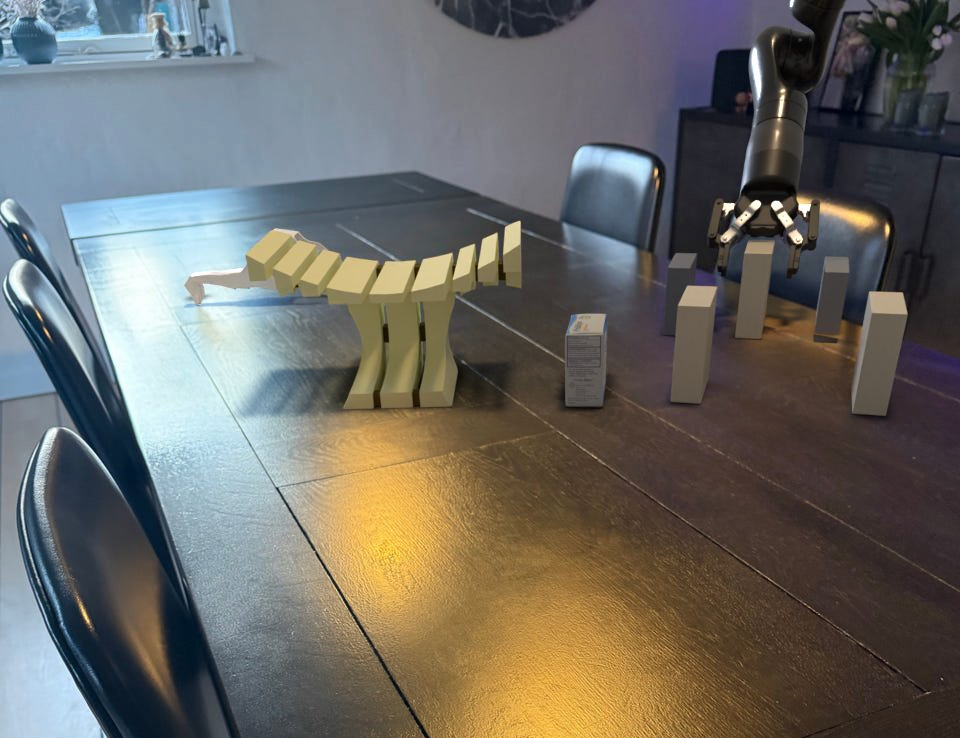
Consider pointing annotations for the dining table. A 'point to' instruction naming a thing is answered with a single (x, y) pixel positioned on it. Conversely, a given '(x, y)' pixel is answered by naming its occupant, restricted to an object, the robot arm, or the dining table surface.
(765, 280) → the beige rectangular block
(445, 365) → the slatted curved stool
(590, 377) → the medicine box
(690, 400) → the cream blocks
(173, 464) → the dining table surface
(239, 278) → the horse figurine
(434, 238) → the dining table surface
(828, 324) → the grey blocks
